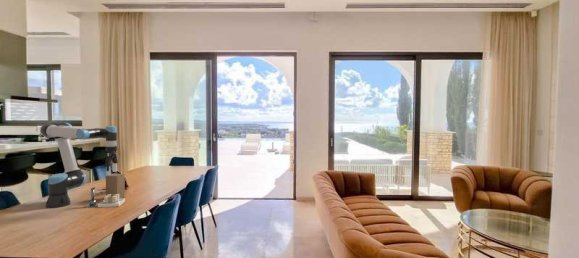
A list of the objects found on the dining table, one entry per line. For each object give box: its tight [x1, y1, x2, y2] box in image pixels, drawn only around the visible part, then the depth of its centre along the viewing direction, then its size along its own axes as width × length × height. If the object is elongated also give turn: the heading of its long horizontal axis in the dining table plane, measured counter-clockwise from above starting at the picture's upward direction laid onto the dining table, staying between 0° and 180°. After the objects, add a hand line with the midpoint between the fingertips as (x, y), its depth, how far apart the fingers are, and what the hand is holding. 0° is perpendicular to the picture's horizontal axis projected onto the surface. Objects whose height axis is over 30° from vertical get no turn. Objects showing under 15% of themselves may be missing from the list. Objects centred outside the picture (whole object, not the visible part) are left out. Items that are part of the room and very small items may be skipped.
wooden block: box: [105, 172, 126, 199], centre depth 254 cm, size 10×10×20 cm
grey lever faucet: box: [83, 186, 100, 209], centre depth 234 cm, size 9×9×14 cm
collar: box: [102, 194, 119, 204], centre depth 239 cm, size 8×10×6 cm
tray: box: [97, 197, 126, 208], centre depth 239 cm, size 15×15×2 cm
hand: (111, 173), depth 238 cm, fingers open, 13 cm apart
